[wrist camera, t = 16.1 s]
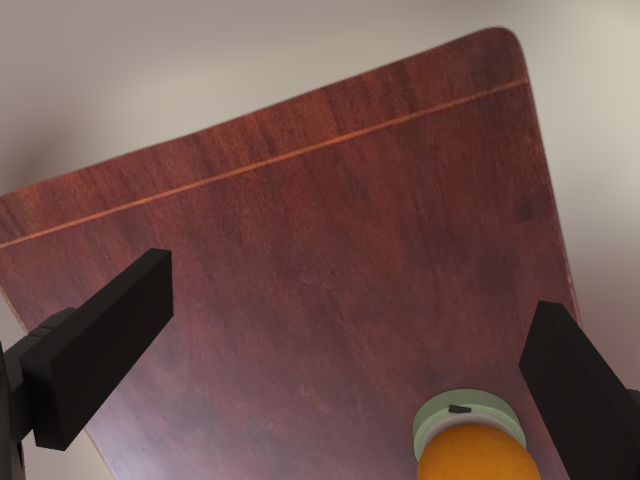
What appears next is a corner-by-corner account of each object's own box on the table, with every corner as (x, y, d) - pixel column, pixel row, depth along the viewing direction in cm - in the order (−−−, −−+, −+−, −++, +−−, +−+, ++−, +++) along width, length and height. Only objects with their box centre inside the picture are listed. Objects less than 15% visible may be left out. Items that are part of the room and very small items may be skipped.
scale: (531, 397, 48) (541, 418, 45) (505, 476, 53) (512, 500, 50) (422, 380, 49) (424, 400, 46) (404, 460, 53) (406, 482, 51)
